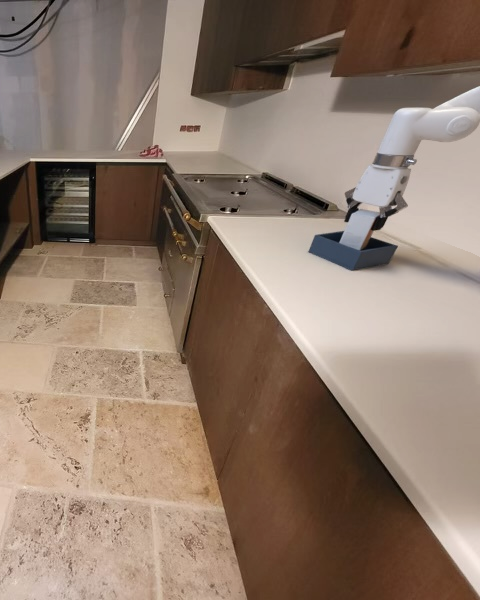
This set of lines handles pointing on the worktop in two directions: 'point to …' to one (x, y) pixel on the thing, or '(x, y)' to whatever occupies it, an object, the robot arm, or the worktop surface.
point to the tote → (352, 251)
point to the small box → (359, 229)
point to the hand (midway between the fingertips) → (361, 225)
